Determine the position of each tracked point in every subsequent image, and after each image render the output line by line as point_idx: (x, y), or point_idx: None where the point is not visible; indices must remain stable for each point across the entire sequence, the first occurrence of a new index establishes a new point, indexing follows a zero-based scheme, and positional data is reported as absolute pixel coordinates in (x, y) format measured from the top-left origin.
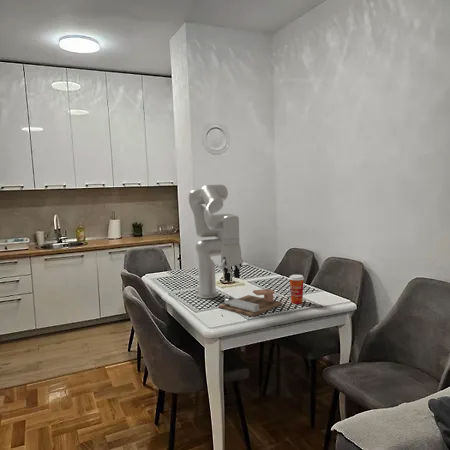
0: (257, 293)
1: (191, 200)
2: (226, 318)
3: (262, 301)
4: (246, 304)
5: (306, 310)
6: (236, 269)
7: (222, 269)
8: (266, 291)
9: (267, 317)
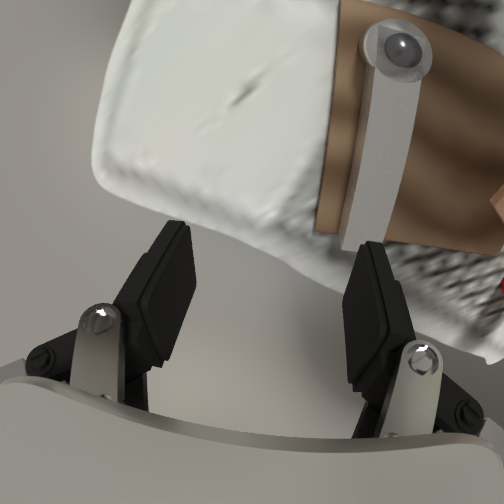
0: (495, 206)
1: None
2: (225, 138)
3: (498, 186)
4: (352, 202)
5: (447, 326)
6: (370, 375)
7: (38, 352)
8: None
9: (340, 271)
